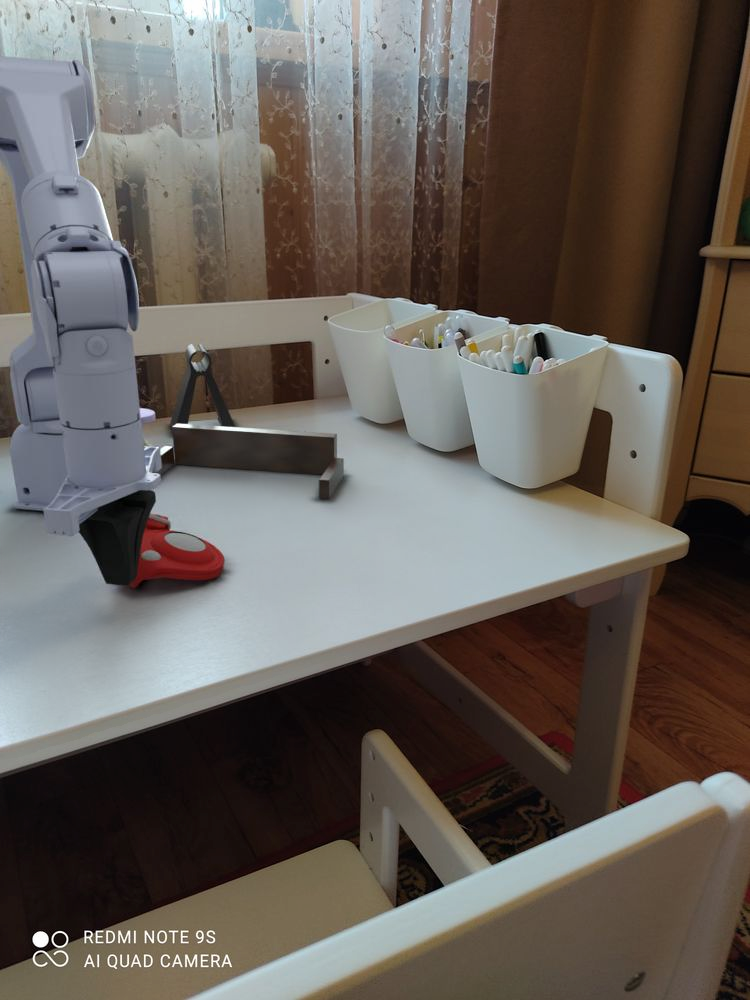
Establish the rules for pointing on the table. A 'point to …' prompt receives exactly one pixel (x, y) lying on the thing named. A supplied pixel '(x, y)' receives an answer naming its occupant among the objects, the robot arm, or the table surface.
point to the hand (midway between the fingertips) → (120, 581)
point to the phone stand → (187, 392)
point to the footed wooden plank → (257, 451)
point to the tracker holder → (175, 554)
